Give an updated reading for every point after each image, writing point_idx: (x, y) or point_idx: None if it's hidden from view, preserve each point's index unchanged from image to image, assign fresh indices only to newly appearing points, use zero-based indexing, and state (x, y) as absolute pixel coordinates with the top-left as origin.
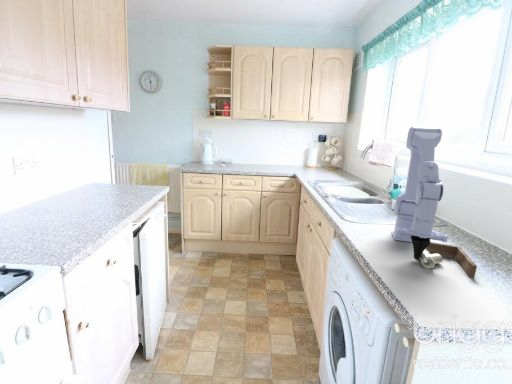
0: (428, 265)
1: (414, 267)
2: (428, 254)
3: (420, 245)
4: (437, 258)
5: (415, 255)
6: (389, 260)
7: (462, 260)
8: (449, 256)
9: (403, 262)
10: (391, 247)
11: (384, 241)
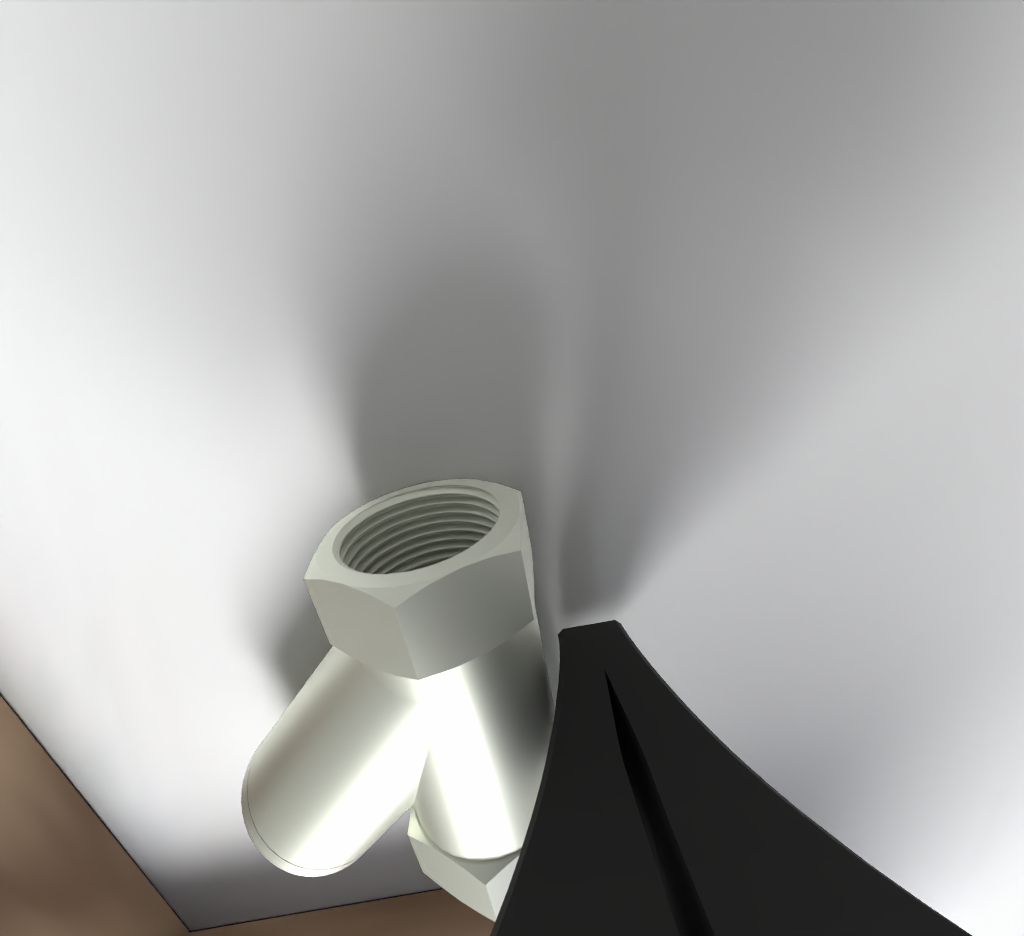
0: (421, 561)
1: (610, 411)
2: (435, 762)
3: (665, 919)
4: (295, 743)
5: (640, 654)
6: (952, 439)
7: (1, 886)
8: (234, 932)
9: (751, 494)
10: (822, 823)
11: None
